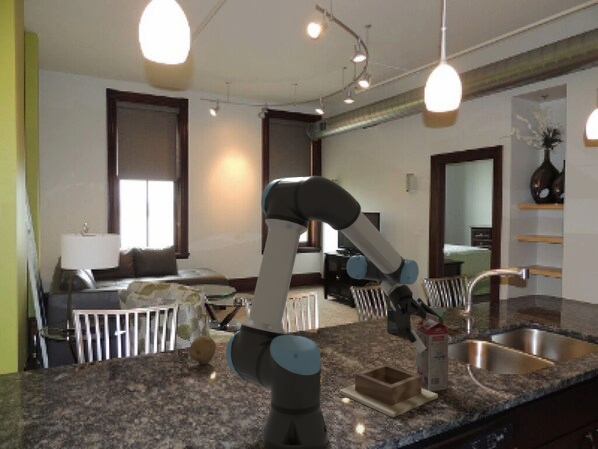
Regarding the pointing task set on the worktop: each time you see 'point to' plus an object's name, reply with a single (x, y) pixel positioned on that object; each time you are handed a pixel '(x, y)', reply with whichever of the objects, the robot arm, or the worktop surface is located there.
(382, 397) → the birch collar board
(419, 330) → the juice carton
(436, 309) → the food container
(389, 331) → the small box
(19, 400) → the worktop surface
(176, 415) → the worktop surface
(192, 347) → the natural sponge
